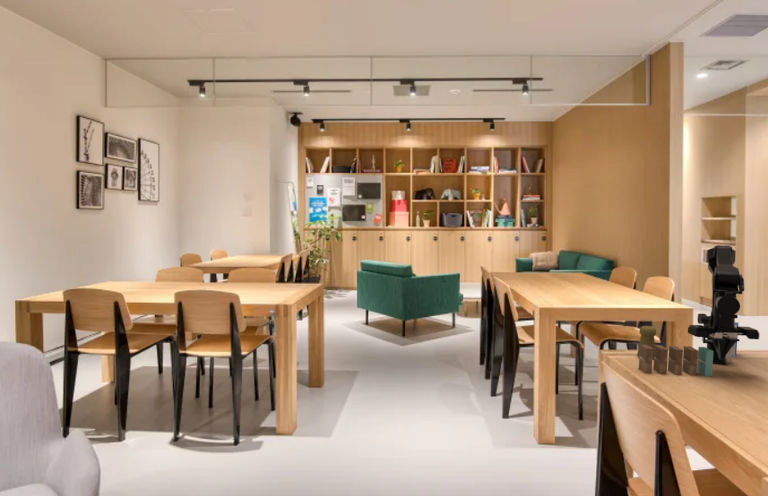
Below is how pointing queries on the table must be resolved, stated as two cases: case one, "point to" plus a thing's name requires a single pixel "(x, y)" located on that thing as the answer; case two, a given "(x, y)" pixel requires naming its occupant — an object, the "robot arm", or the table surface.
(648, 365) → the domino
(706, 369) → the domino
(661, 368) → the domino
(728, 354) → the walkman
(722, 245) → the robot arm
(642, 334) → the cork
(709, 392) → the table surface
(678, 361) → the domino
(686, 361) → the domino
